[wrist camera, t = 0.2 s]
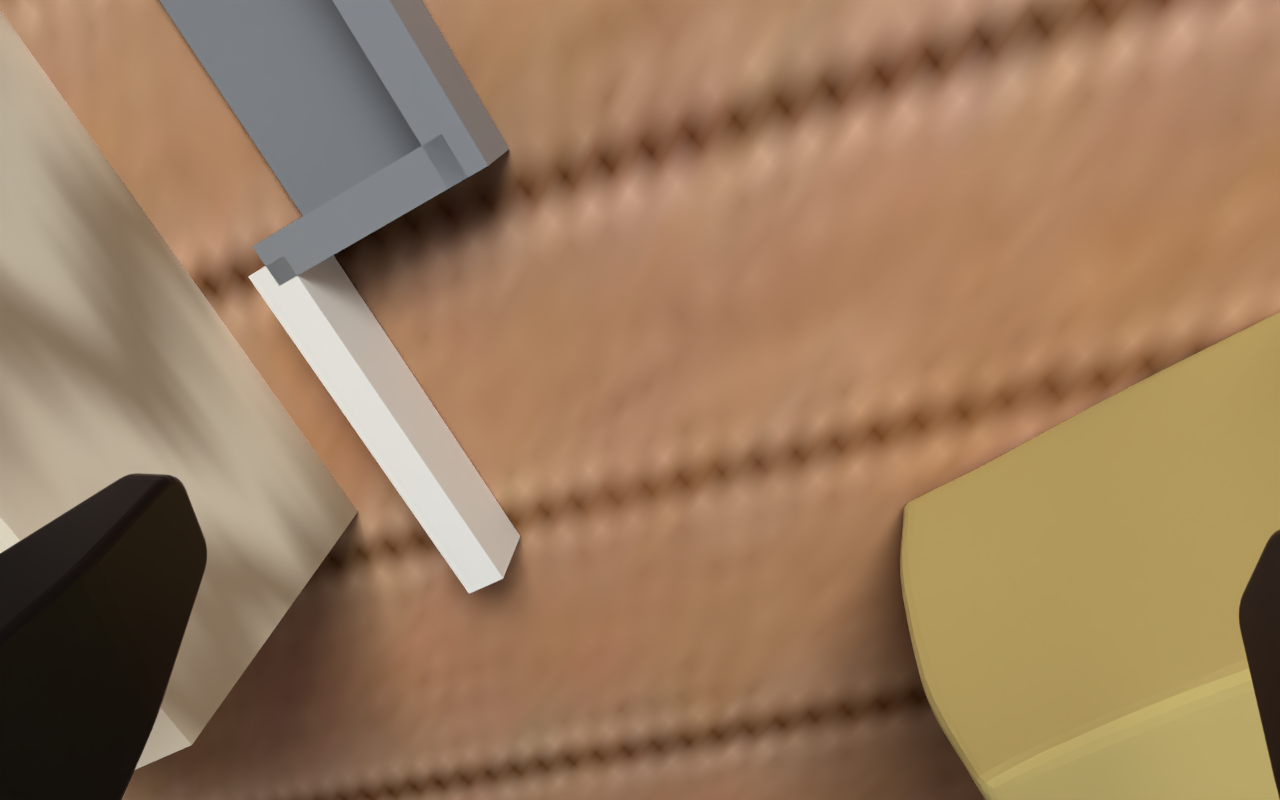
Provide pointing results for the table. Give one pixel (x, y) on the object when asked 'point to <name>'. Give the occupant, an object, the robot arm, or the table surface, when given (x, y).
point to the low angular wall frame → (359, 216)
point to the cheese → (1107, 591)
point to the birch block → (141, 395)
